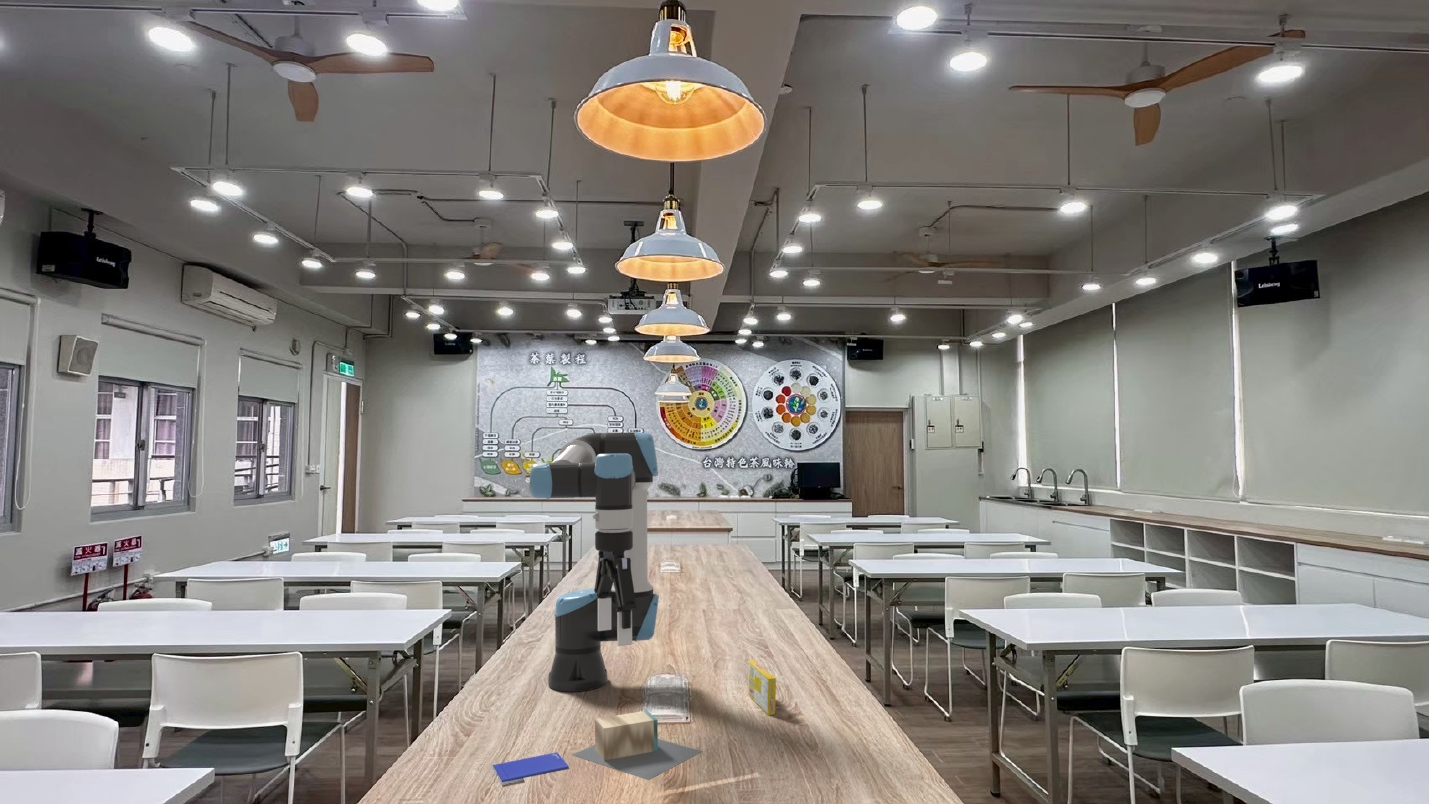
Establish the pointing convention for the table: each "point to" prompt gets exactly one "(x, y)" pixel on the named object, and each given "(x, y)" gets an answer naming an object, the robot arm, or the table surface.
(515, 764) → the hard drive
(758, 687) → the candy box
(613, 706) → the table surface
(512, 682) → the table surface
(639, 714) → the maple block
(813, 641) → the table surface
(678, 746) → the slate mat
